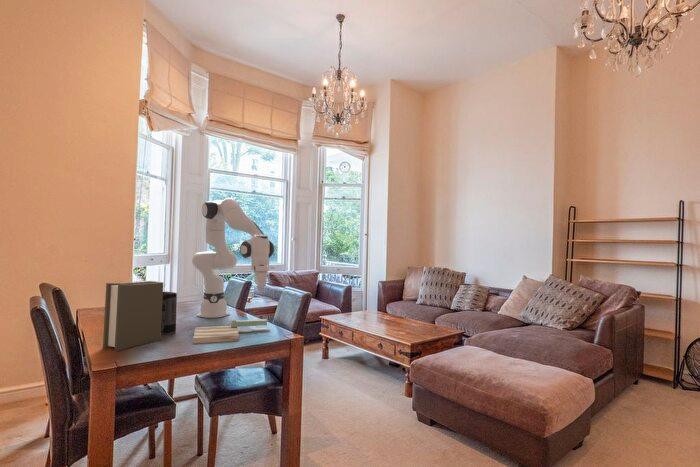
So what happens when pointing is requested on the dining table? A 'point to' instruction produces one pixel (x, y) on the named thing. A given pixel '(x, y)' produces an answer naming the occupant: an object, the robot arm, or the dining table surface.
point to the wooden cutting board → (220, 333)
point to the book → (132, 314)
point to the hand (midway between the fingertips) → (259, 293)
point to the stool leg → (248, 323)
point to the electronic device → (168, 313)
